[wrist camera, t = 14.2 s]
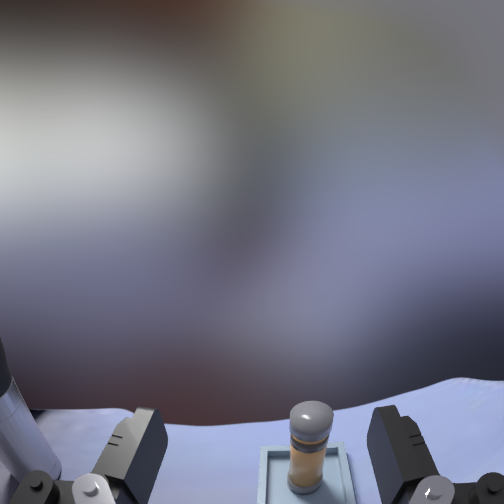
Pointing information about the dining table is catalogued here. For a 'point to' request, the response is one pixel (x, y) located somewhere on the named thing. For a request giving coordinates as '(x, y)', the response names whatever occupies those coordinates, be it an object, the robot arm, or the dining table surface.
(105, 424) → the dining table surface
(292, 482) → the grey capped cylinder
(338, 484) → the parts tray
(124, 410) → the dining table surface
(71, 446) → the dining table surface
